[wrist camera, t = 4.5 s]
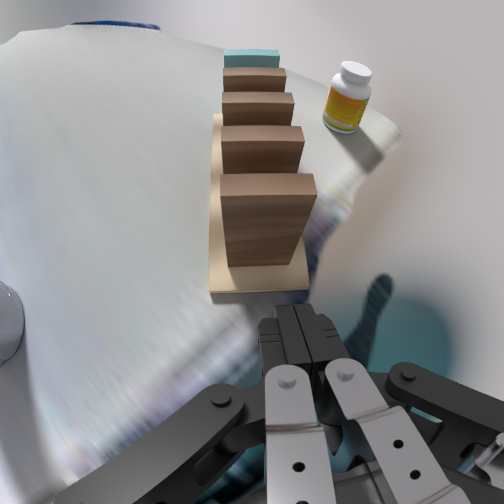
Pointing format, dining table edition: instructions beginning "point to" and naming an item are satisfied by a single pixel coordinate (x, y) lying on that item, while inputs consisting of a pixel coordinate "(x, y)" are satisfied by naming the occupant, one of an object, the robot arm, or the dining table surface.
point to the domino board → (219, 272)
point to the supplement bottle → (347, 98)
